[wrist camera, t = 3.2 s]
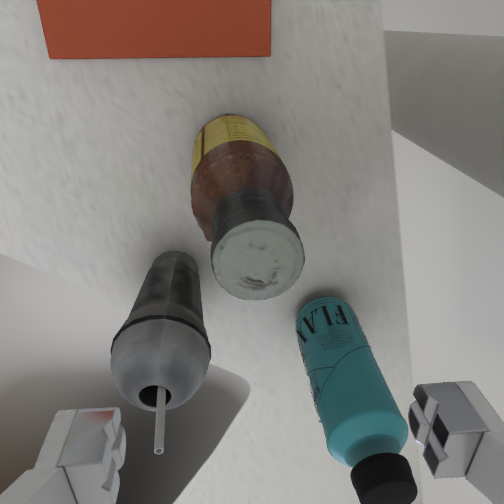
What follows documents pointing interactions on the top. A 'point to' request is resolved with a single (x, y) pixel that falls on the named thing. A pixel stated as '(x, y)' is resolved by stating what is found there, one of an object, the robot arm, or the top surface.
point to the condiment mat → (156, 28)
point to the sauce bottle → (245, 209)
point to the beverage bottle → (355, 403)
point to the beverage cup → (163, 341)
